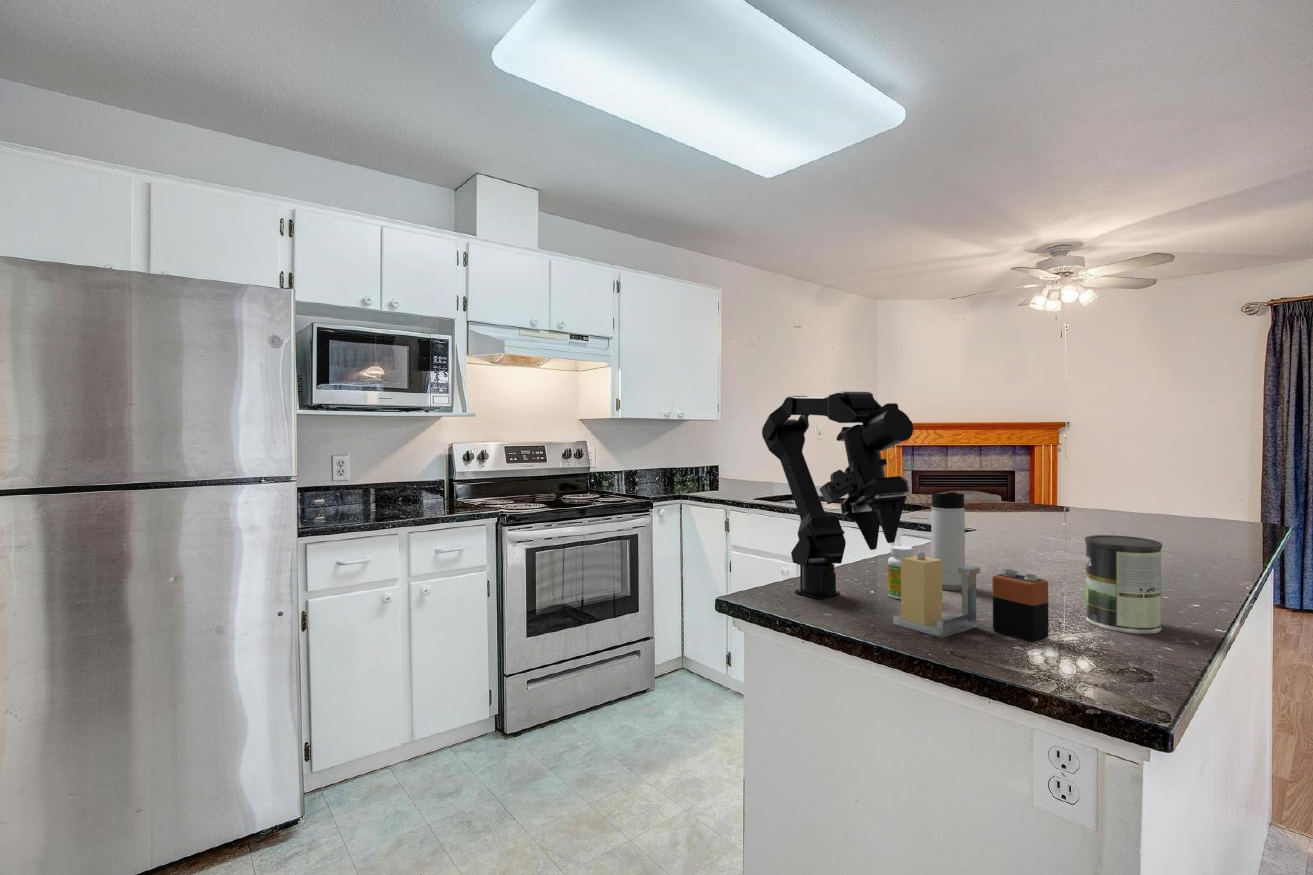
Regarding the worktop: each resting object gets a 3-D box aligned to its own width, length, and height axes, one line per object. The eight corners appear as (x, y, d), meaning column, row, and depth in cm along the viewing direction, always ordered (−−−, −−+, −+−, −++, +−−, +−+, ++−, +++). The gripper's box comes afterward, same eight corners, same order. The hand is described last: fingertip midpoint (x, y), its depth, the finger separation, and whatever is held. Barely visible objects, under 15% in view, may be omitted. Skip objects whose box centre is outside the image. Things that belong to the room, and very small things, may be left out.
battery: (1007, 627, 105) (1007, 566, 105) (1049, 638, 99) (1049, 574, 99) (991, 631, 103) (990, 569, 103) (1033, 643, 97) (1032, 577, 97)
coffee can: (1078, 625, 105) (1078, 540, 105) (1093, 612, 113) (1092, 533, 112) (1157, 638, 98) (1156, 548, 98) (1166, 624, 105) (1166, 539, 105)
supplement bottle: (884, 597, 124) (884, 548, 123) (891, 591, 128) (891, 544, 128) (913, 601, 121) (913, 550, 120) (919, 595, 125) (919, 546, 125)
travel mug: (936, 590, 128) (936, 492, 128) (928, 583, 135) (927, 489, 135) (969, 591, 127) (969, 492, 127) (959, 584, 134) (959, 489, 134)
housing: (901, 617, 106) (900, 551, 106) (919, 613, 109) (918, 548, 108) (924, 624, 102) (923, 555, 102) (942, 620, 105) (941, 552, 105)
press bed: (893, 623, 107) (892, 564, 107) (927, 614, 112) (927, 558, 112) (945, 638, 99) (945, 575, 99) (980, 627, 104) (979, 567, 104)
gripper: (808, 474, 121) (821, 557, 117) (832, 448, 103) (850, 544, 99) (865, 469, 121) (881, 551, 117) (900, 441, 104) (920, 537, 99)
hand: (881, 546), depth 108 cm, fingers open, 9 cm apart
